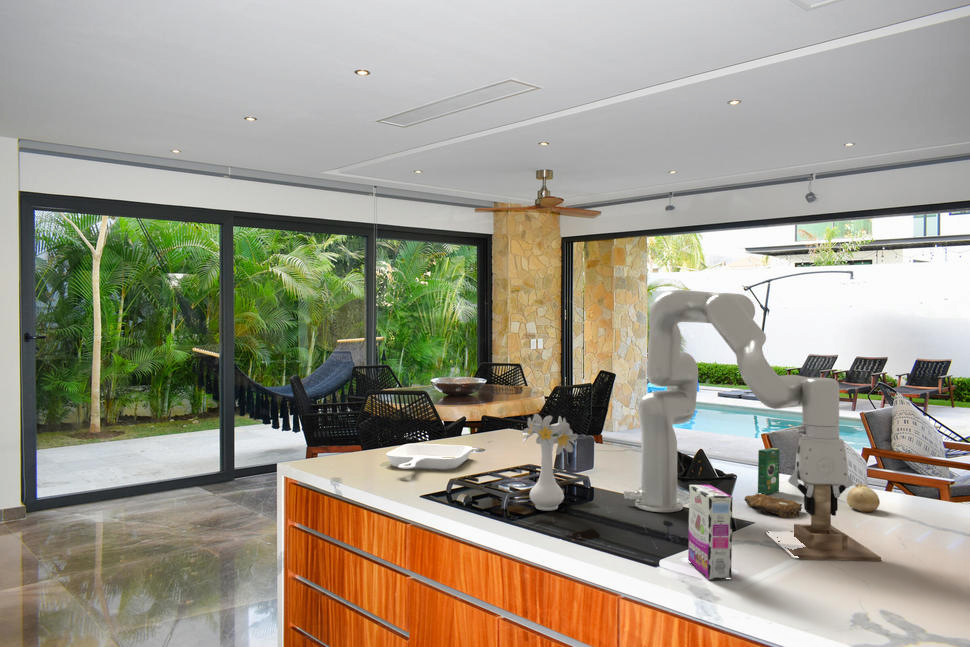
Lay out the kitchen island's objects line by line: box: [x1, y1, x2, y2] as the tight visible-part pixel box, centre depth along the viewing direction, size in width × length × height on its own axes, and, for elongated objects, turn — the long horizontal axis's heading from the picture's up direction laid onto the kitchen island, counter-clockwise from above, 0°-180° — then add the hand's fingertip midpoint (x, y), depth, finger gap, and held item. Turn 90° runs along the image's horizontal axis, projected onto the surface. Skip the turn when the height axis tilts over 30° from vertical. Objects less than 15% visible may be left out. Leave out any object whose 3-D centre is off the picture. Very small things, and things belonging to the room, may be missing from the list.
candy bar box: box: [687, 484, 733, 581], centre depth 142 cm, size 11×5×16 cm, turn 5°
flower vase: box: [521, 413, 579, 512], centre depth 190 cm, size 13×18×25 cm
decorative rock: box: [743, 493, 803, 518], centre depth 189 cm, size 11×4×15 cm
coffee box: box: [757, 447, 780, 495], centre depth 210 cm, size 8×3×13 cm, turn 129°
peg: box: [810, 485, 832, 530], centre depth 158 cm, size 4×4×12 cm
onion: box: [846, 482, 881, 513], centre depth 190 cm, size 8×8×7 cm
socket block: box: [766, 523, 882, 562], centre depth 158 cm, size 18×18×4 cm
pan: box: [385, 442, 473, 471], centre depth 245 cm, size 27×42×5 cm, turn 167°
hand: (820, 513), depth 158 cm, fingers closed on peg, 4 cm apart
